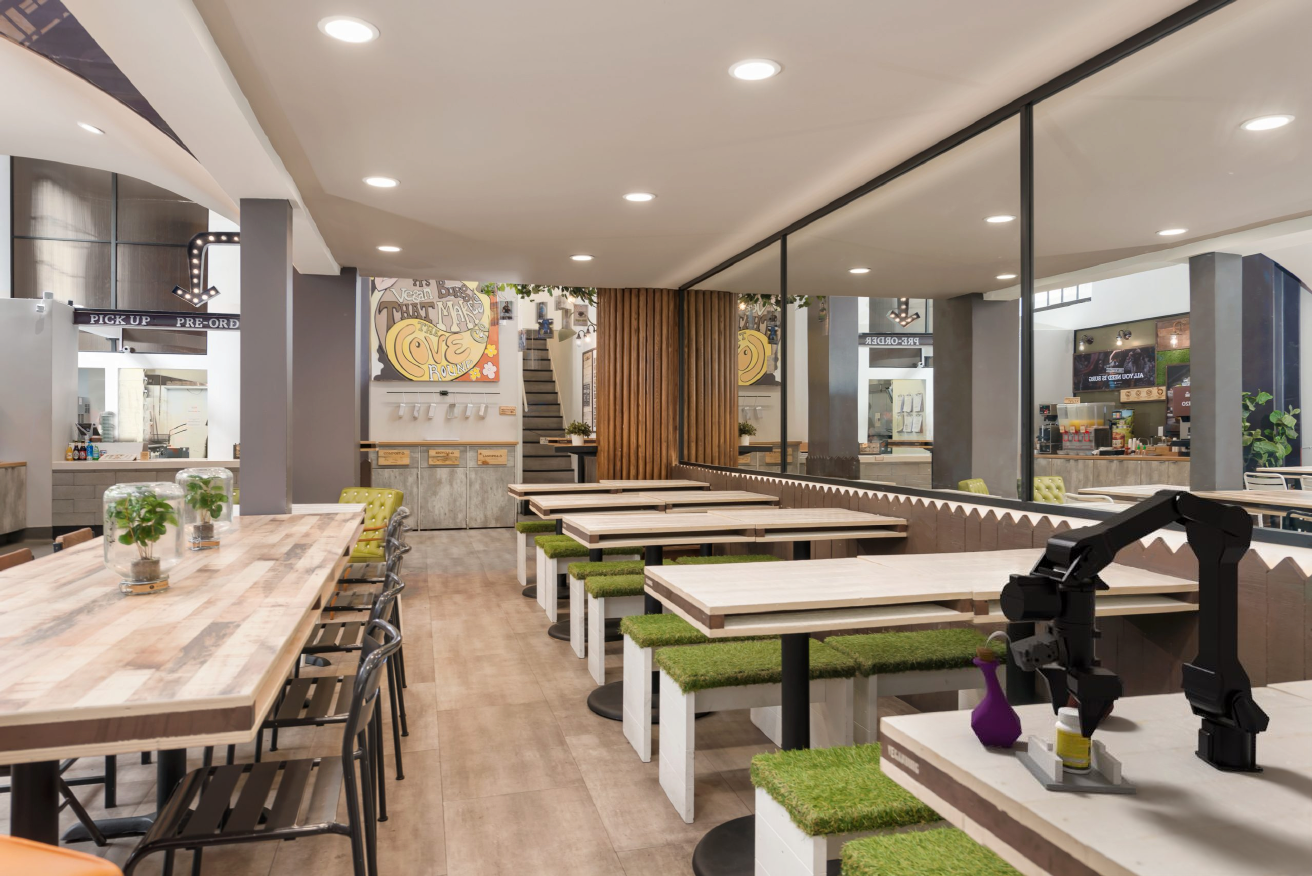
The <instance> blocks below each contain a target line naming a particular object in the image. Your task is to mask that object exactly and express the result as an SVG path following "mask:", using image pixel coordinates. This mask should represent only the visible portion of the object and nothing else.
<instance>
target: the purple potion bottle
mask: <svg viewBox="0 0 1312 876" xmlns="http://www.w3.org/2000/svg"><path fill="white" fill-rule="evenodd" d="M996 636H1004V637H1006V638H1007V639H1008V641H1009V643H1010V644H1011V643H1012V640H1011V638H1010V637H1009V635H1008V634H1007V633H1006V632H1004V631H1002V630H998V631H995V632H993V633H992V634H990V636H989V637H988V639H987V641H986V644H985V646H978V647H976V648H975V650H976V655H977V657H975V658H973V664H974V665H977V666H978V667H979V669H980V670H981V672H982V675H983V676H984V680H985V684H986V694H985V697H984V698H983V699H982V700H981V702H979V704H978V705H977V706H976V707H974V709H973V710H972V711H971V713H970V715H971V717H970V728H971V730H973V732H974V734H975V735H976V737H977V738H978V740H979V742H980V744H981V745H984V746H990V747H997V748H1003V749H1004V748H1005V749H1010V748H1012V746H1013V745H1014V744H1015V743H1016V741H1017V740H1018V738H1020V736H1021V735H1022V734H1023V730H1022V723H1021V717H1020V716H1019V715H1018V713H1017V712H1016V711H1015V709H1014V708H1013V706H1012V705H1011V704H1010V702H1009V701H1008V698H1007V696H1005V693H1004V691H1003V689H1002V686H1001V684H1000V682H999V679H998V676H997V672H996V671H997V667H999V666H1001V662H1000V660H999V659H997V658H996V652H995V650H994V649H992V648H990V647H988V643H989V641H990V640H991V639H992V638H994V637H996ZM1010 644H1009V645H1010Z"/></svg>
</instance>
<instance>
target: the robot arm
mask: <svg viewBox="0 0 1312 876" xmlns="http://www.w3.org/2000/svg"><path fill="white" fill-rule="evenodd" d="M1172 523H1174V524H1177V525H1179V526H1181V527H1183V528H1185V533H1186V539H1187V540H1186V541H1187V544H1188V546H1190V549H1191V550H1192V552H1193V554H1194V555H1195V557H1196V558H1197V562H1198V631H1197V632H1198V633H1197V634H1198V635H1197V636H1198V637H1197V638H1198V639H1197V640H1198V643H1197V644H1198V646H1197V649H1198V651H1197V654H1196V655H1195V657H1194V658H1193V659H1192V661H1191V662H1190V663H1186V662H1184V663H1182V666H1181V674H1182V681H1181V684H1180V689H1182V690H1184V697H1185V698H1186V700H1188V702H1189V705H1190V709H1191V711H1192V714H1193V715H1194V716H1198V717H1201V721H1200V722H1201V723H1200V724H1201V726H1200V727H1201V728H1199V729H1198V730H1197V732H1198V733H1197V734H1198V735H1197V737H1198V738H1197V750H1194V755H1196V756H1197V757H1199V758H1200V759H1202V760H1203V761H1205V762H1207V763H1208V764H1210V765H1211V766H1213V767H1214V768H1215V769H1217V770H1222V771H1244V772H1264V767H1262V766H1261V765H1259V764H1258V763H1257V735H1259V734H1260V733H1263V732H1264V733H1265V732H1266V731H1267V729H1268V726H1269V723H1270V716H1268V714H1267V713H1266V712H1265V711H1264V710H1263V709H1262V708H1261V706H1259V704H1258V703H1257V702H1256V701H1255V700H1254V698H1253V692H1252V686H1251V680H1250V677H1249V675H1248V674H1247V672H1246V670H1245V668H1244V666H1243V665H1242V663H1241V662H1240V660H1239V654H1238V653H1239V650H1238V649H1239V647H1238V645H1239V641H1238V640H1239V639H1238V637H1239V636H1238V635H1239V631H1238V630H1239V627H1238V626H1239V624H1238V623H1239V617H1238V616H1239V613H1238V612H1239V606H1238V605H1239V604H1238V603H1239V598H1238V597H1239V590H1238V589H1239V586H1238V585H1239V563H1240V561H1241V560H1242V559H1243V558H1244V557H1245V555H1246V553H1248V551H1249V549H1250V548H1251V544H1252V536H1253V530H1254V521H1253V516H1252V514H1250V513H1249V512H1248V511H1247V510H1246V509H1245V508H1244V507H1242V506H1240V505H1235V504H1233V505H1232V504H1223V503H1219V502H1217V501H1213V500H1209V499H1207V498H1202V497H1201V496H1198V495H1195V494H1194V493H1190V492H1189V491H1188V490H1182V489H1181V490H1179V489H1168V488H1167V489H1166V488H1163V489H1160V490H1157V491H1155V492H1154V493H1153V495H1151V496H1149V497H1147V498H1145V499H1144V500H1142V501H1139V502H1137V503H1135V504H1134V505H1132V506H1130V507H1128V508H1126V509H1123V510H1122V511H1121V512H1118V513H1116V514H1115V515H1112V516H1111V517H1109V518H1107V519H1104V520H1103V521H1100V522H1099V523H1097V524H1093V525H1090V526H1083V527H1077V528H1072V529H1068V530H1065V531H1062V532H1057V533H1055V534H1053V535H1052V536H1050V537H1049V539H1048V540H1047V542H1046V543H1047V544H1046V547H1045V550H1044V551H1043V552H1042V554H1041V555H1040V557H1039V559H1038V560H1037V561H1036V563H1035V564H1034V565H1033V566H1032V569H1031V570H1030V571H1029V573H1028V574H1018V573H1011V574H1009V578H1008V579H1009V580H1008V581H1009V582H1007V583H1005V585H1004V586H1003V587H1002V590H1001V593H1000V594H999V603H1000V604H999V605H1000V609H1001V611H1002V614H1003V616H1004V617H1005V618H1006V619H1007V620H1008V621H1009V622H1011V623H1018V622H1019V623H1023V622H1024V623H1025V622H1026V623H1027V622H1029V623H1030V622H1031V623H1032V622H1046V624H1045V625H1044V633H1041V634H1037V635H1032V636H1030V637H1029V636H1028V637H1026V638H1024V639H1020V640H1017V641H1014V642H1011V644H1009V647H1010V648H1009V649H1010V650H1011V653H1012V656H1013V659H1014V662H1015V665H1016V666H1018V667H1020V668H1021V669H1022V671H1024V672H1033V671H1036V670H1037V672H1038V673H1040V675H1041V676H1042V677H1043V678H1044V681H1045V684H1046V687H1047V692H1048V695H1049V698H1050V701H1051V706H1052V709H1053V713H1054V715H1055V716H1056V717H1058V710H1059V708H1063V707H1067V704H1068V700H1069V697H1070V694H1071V695H1072V696H1073V697H1074V698H1075V699H1076V701H1077V706H1078V715H1079V723H1080V730H1081V735H1082V737H1083V738H1091V739H1092V736H1093V735H1094V733H1095V731H1096V729H1097V728H1098V727H1099V725H1100V723H1101V721H1102V720H1103V719H1102V718H1103V716H1104V715H1105V713H1106V712H1107V710H1108V709H1109V708H1110V706H1111V705H1112V703H1113V702H1115V701H1119V698H1121V697H1125V681H1124V680H1123V679H1122V678H1121V677H1120V676H1119V675H1118V674H1116V673H1114V672H1113V671H1111V670H1109V669H1107V668H1101V667H1102V665H1101V661H1102V660H1101V659H1100V658H1099V657H1096V639H1101V638H1102V631H1101V630H1099V629H1097V628H1096V603H1097V602H1096V599H1097V596H1096V594H1097V593H1096V591H1097V592H1098V591H1109V590H1110V589H1111V588H1110V585H1109V584H1108V583H1106V582H1105V581H1104V580H1103V579H1102V578H1101V576H1100V575H1099V574H1100V572H1101V571H1103V570H1104V569H1106V568H1107V567H1108V566H1110V564H1112V563H1113V562H1114V559H1115V557H1116V555H1117V553H1119V552H1120V551H1121V550H1122V549H1124V548H1126V547H1128V546H1130V545H1132V544H1133V543H1135V542H1138V541H1140V540H1142V539H1143V538H1146V537H1147V536H1149V535H1151V534H1152V533H1155V532H1156V531H1159V530H1161V529H1163V528H1164V527H1165V526H1168V525H1170V524H1172Z"/></svg>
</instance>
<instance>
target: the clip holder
mask: <svg viewBox="0 0 1312 876" xmlns="http://www.w3.org/2000/svg"><path fill="white" fill-rule="evenodd" d="M1106 748H1107V747H1106V744H1104V743H1103V742H1101V741H1100V740H1099V739H1092V738H1091V770H1090V772H1089V773H1086V774H1074V773H1069V772H1065V771H1063V770H1062V769H1063V761H1062V760H1061V759H1060V758H1059V757H1058V756H1057V755H1056V754H1055V751H1054V742H1052V741H1051V740H1049V738H1048V737H1040V738H1038V737H1037V735H1035V734H1028V735H1027V751H1015V758H1017V760H1018V761H1019V762H1020V763H1021V764H1022V765H1023V766H1024V767H1025V769H1027V771H1028V772H1029V773H1030V774H1031V775H1032V776H1033V777H1034V778H1035V779H1036V780H1037V781H1038V782H1039V783H1040V785H1042V786H1043V788H1045V790H1046V791H1065V792H1066V791H1068V792H1070V791H1071V792H1084V793H1085V792H1088V793H1090V792H1092V793H1111V794H1134V795H1137V787H1136V786H1134V785H1133V784H1131V783H1130V782H1129V781H1128V780H1127V779H1126V778H1124V776H1122V762H1121V761H1120V760H1118V759H1117V758H1116V757H1114V756H1113V754H1111V753H1109V752H1108V751H1107V750H1106Z"/></svg>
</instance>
